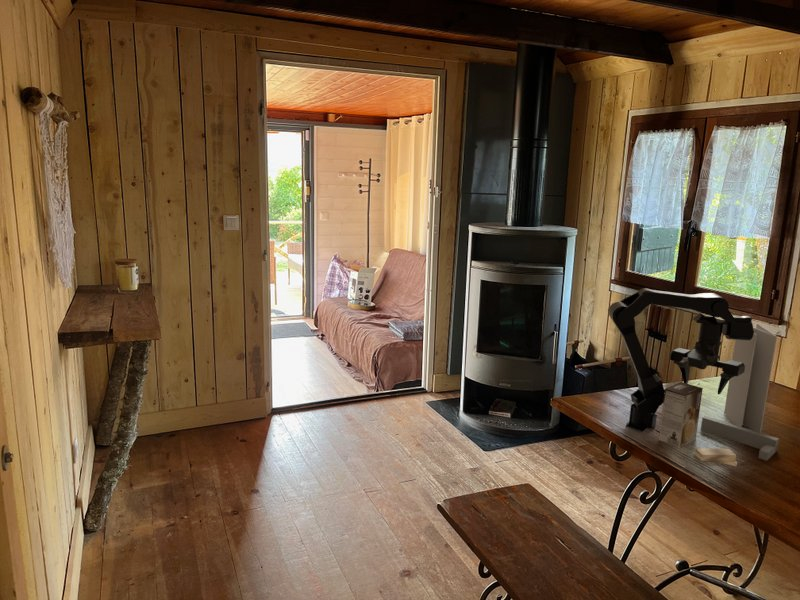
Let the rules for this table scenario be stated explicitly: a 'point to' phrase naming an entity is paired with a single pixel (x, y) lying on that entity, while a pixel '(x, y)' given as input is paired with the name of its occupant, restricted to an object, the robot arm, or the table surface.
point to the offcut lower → (729, 462)
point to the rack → (742, 436)
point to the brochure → (751, 379)
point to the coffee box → (680, 414)
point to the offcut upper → (714, 454)
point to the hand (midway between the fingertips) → (702, 389)
